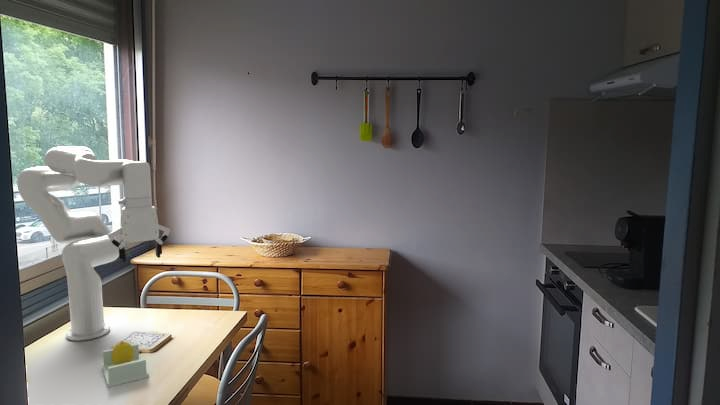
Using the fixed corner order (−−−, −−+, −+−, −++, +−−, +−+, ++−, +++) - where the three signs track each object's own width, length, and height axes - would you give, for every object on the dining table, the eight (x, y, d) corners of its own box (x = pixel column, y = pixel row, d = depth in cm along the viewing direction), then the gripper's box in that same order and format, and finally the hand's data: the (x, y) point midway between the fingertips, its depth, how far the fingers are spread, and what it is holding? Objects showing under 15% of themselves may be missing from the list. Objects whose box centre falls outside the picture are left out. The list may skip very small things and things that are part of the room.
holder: (102, 367, 135) (100, 351, 134) (140, 359, 140) (139, 342, 140) (107, 387, 124) (106, 369, 123) (148, 377, 130) (147, 359, 129)
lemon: (126, 374, 129) (124, 346, 128) (108, 372, 130) (106, 344, 129) (139, 365, 134) (137, 338, 133) (121, 363, 135) (120, 336, 134)
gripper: (107, 206, 134) (110, 265, 136) (171, 202, 144) (174, 257, 146) (104, 203, 140) (107, 260, 143) (166, 199, 150) (168, 252, 152)
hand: (141, 258), depth 144 cm, fingers open, 9 cm apart
